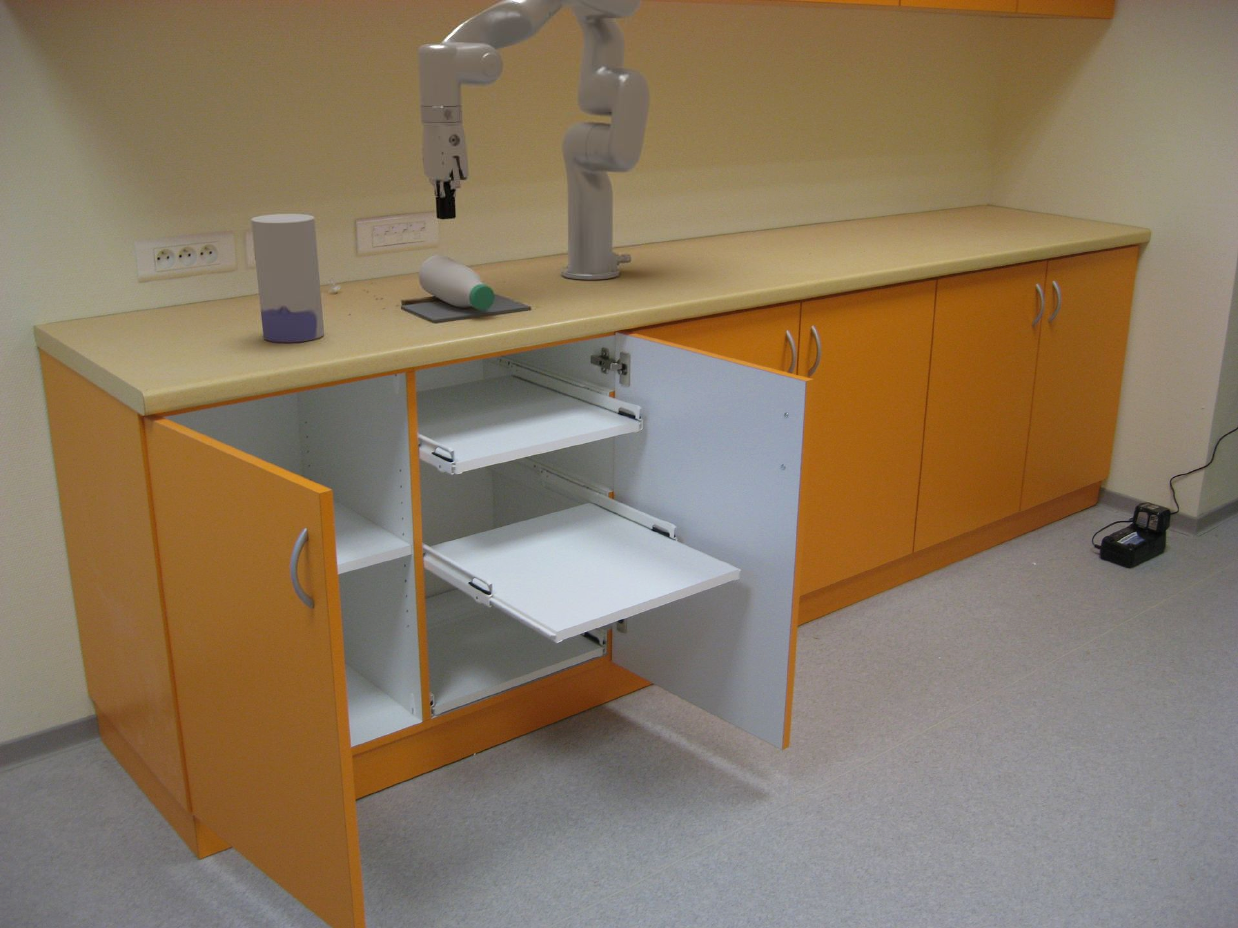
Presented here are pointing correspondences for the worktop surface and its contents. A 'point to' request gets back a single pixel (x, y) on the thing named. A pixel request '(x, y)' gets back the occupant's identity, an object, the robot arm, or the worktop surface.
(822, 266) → the worktop surface
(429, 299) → the rail
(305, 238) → the container
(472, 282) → the milk bottle
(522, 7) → the robot arm
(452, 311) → the mat
